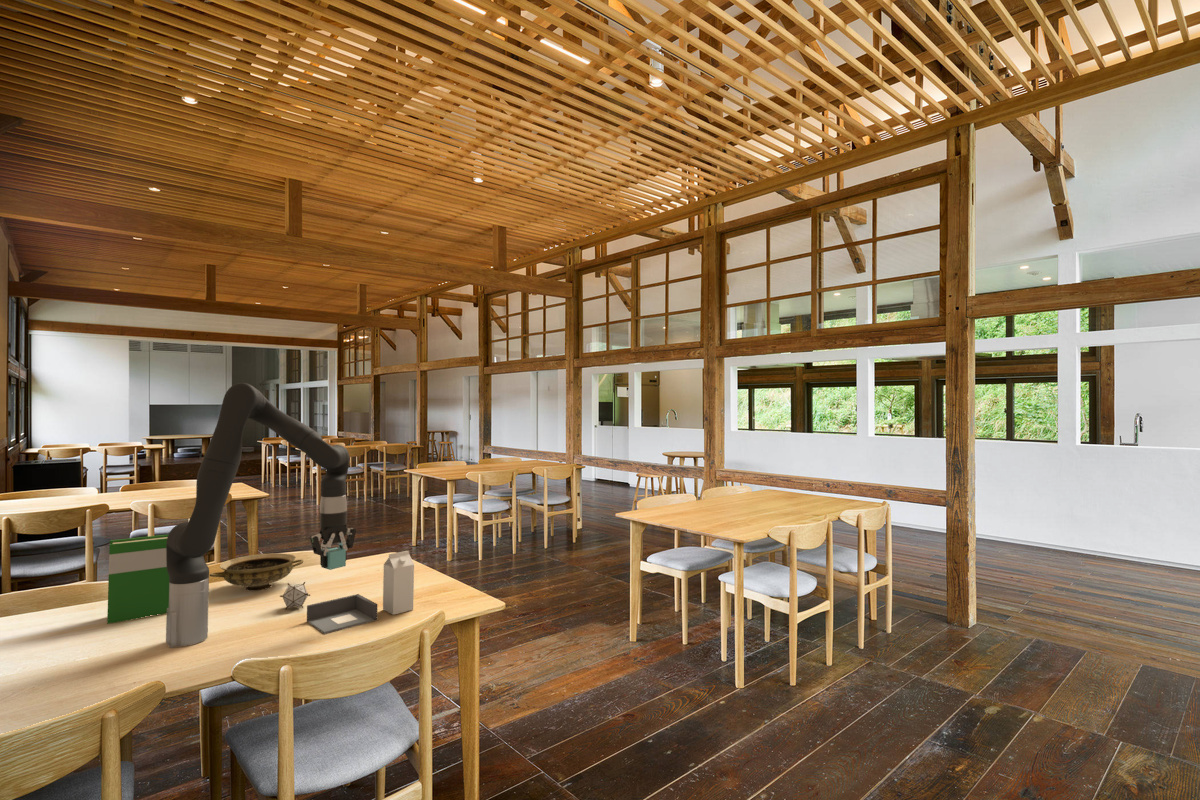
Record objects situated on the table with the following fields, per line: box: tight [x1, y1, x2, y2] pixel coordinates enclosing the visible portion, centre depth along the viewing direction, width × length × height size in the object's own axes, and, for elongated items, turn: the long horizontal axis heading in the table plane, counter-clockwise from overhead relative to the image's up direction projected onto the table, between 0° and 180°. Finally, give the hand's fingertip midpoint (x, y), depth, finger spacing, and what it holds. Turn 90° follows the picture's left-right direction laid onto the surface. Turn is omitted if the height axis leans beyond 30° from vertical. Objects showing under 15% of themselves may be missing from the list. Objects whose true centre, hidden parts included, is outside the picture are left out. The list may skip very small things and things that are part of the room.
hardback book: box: [106, 533, 169, 625], centre depth 183 cm, size 18×7×24 cm, turn 130°
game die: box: [279, 581, 311, 611], centre depth 190 cm, size 9×8×10 cm
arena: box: [306, 593, 378, 635], centre depth 179 cm, size 16×14×5 cm
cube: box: [320, 547, 347, 571], centre depth 176 cm, size 5×5×5 cm
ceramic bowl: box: [209, 552, 304, 592], centre depth 211 cm, size 30×24×10 cm
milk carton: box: [382, 550, 415, 615], centre depth 189 cm, size 7×7×19 cm
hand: (333, 565), depth 176 cm, fingers closed on cube, 5 cm apart
